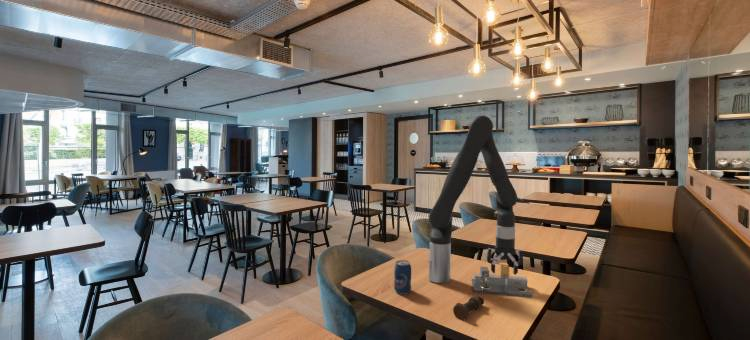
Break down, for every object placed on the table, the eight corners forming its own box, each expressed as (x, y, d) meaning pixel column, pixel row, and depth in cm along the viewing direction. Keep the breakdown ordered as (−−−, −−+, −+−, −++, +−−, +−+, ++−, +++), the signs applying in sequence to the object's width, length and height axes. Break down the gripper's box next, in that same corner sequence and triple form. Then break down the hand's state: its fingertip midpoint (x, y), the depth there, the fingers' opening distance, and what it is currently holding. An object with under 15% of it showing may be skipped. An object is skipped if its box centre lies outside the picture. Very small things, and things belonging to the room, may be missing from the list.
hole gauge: (474, 292, 138) (474, 275, 138) (471, 280, 150) (472, 265, 150) (531, 297, 134) (532, 280, 134) (524, 284, 146) (524, 268, 146)
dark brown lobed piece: (482, 310, 128) (460, 323, 117) (472, 300, 131) (450, 312, 120) (490, 299, 125) (469, 312, 115) (479, 289, 128) (458, 301, 118)
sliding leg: (502, 286, 140) (503, 269, 139) (499, 278, 147) (499, 262, 147) (510, 286, 139) (510, 269, 139) (506, 279, 147) (506, 263, 146)
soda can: (391, 293, 138) (392, 264, 137) (397, 286, 144) (397, 258, 143) (408, 296, 135) (408, 266, 134) (413, 289, 142) (413, 261, 141)
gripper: (489, 237, 141) (488, 275, 142) (525, 239, 138) (524, 277, 139) (486, 232, 148) (485, 268, 149) (521, 234, 145) (519, 271, 147)
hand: (504, 273), depth 144 cm, fingers open, 8 cm apart
